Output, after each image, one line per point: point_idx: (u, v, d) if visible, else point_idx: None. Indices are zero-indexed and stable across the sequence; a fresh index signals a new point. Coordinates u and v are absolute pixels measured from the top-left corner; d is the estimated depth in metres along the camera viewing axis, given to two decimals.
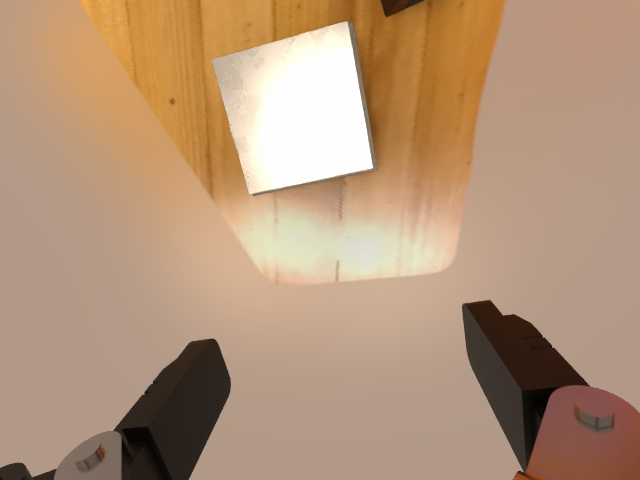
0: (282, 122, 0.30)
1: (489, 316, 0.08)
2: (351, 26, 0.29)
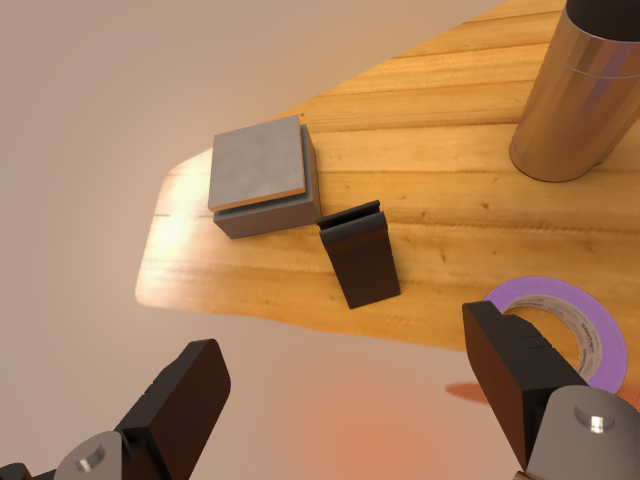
0: (252, 152, 0.42)
1: (489, 316, 0.08)
2: (309, 200, 0.40)
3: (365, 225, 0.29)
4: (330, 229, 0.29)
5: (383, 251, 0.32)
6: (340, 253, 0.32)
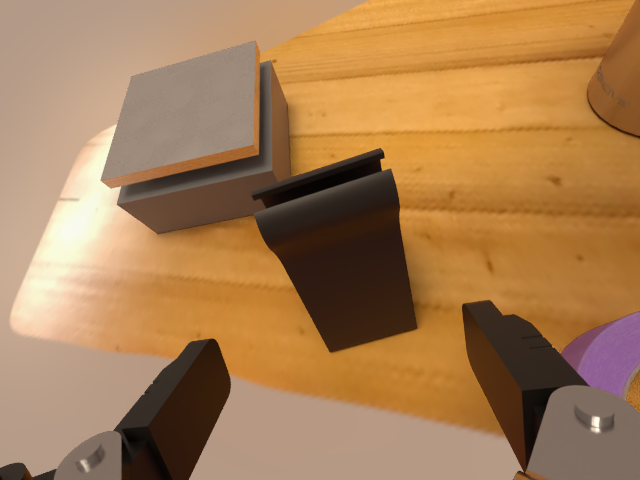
0: (181, 96, 0.27)
1: (489, 316, 0.08)
2: (267, 169, 0.24)
3: (351, 198, 0.14)
4: (277, 208, 0.14)
5: (388, 254, 0.17)
6: (304, 258, 0.16)
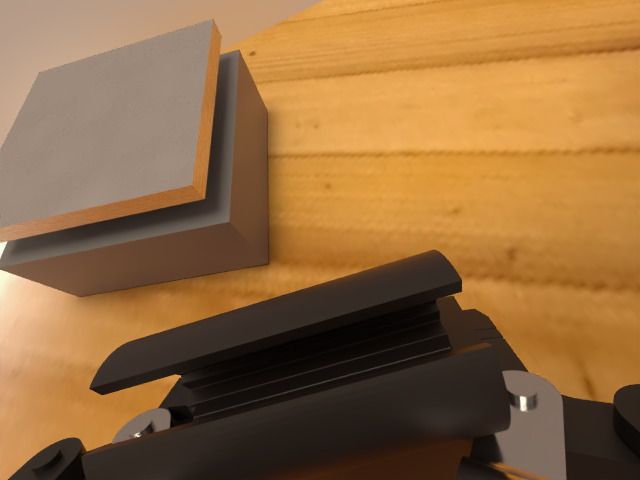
0: (98, 102, 0.18)
1: (449, 310, 0.09)
2: (222, 220, 0.15)
3: (369, 430, 0.04)
4: (148, 448, 0.05)
5: (443, 456, 0.08)
6: None
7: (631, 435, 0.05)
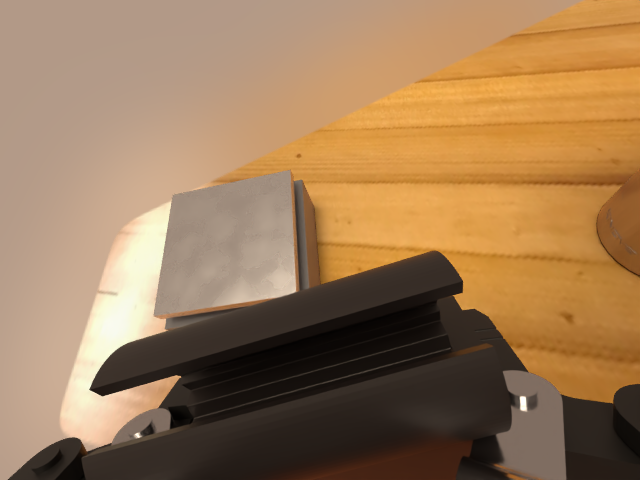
0: (223, 227, 0.29)
1: (449, 310, 0.09)
2: None
3: (371, 431, 0.04)
4: (148, 449, 0.05)
5: (444, 457, 0.08)
6: None
7: (631, 435, 0.05)
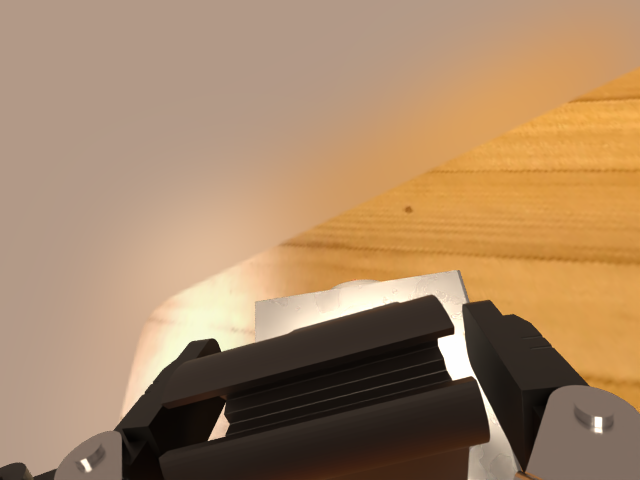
0: None
1: (489, 316, 0.08)
2: None
3: (382, 442, 0.06)
4: (211, 452, 0.06)
5: (440, 461, 0.09)
6: None
7: None
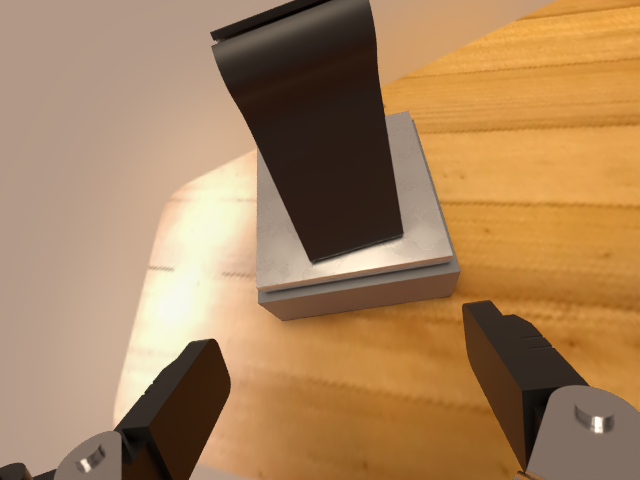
0: None
1: (489, 316, 0.08)
2: (453, 269, 0.20)
3: (321, 25, 0.12)
4: (238, 38, 0.12)
5: (368, 123, 0.15)
6: (274, 122, 0.15)
7: None
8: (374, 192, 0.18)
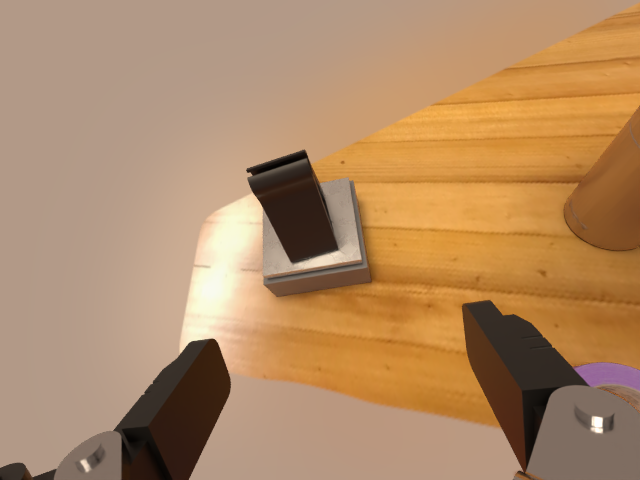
0: None
1: (489, 316, 0.08)
2: (364, 266, 0.39)
3: (290, 171, 0.31)
4: (257, 175, 0.31)
5: (313, 201, 0.34)
6: (272, 202, 0.34)
7: None
8: (320, 229, 0.37)
